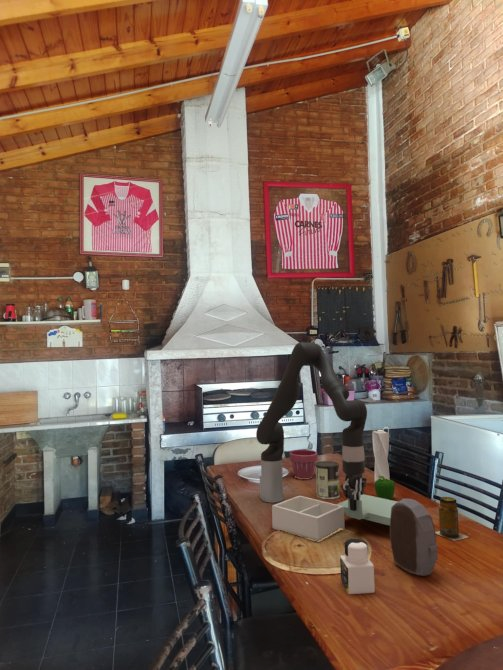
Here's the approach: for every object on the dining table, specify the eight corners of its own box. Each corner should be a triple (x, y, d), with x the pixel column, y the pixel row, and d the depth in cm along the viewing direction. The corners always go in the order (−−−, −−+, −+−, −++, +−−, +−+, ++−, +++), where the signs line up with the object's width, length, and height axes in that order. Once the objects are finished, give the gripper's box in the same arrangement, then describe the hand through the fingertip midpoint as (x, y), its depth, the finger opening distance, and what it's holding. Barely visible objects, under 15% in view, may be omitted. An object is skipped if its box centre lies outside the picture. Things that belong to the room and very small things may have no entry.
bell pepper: (393, 496, 201) (392, 472, 201) (397, 502, 193) (396, 477, 193) (373, 496, 202) (372, 472, 202) (376, 501, 193) (375, 477, 194)
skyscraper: (393, 486, 215) (391, 426, 216) (389, 490, 209) (386, 428, 210) (376, 484, 219) (374, 425, 221) (371, 488, 213) (369, 427, 214)
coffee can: (339, 492, 207) (339, 461, 208) (339, 499, 197) (338, 466, 198) (316, 492, 209) (316, 460, 210) (315, 498, 199) (314, 465, 200)
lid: (327, 515, 165) (326, 494, 165) (361, 500, 181) (360, 480, 182) (383, 530, 149) (383, 507, 150) (415, 512, 166) (414, 491, 167)
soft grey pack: (386, 561, 137) (384, 493, 138) (408, 556, 140) (406, 489, 141) (423, 584, 123) (421, 508, 124) (447, 577, 127) (444, 503, 128)
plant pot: (319, 481, 227) (319, 454, 228) (291, 481, 228) (290, 455, 228) (316, 473, 242) (315, 449, 242) (289, 474, 242) (288, 449, 242)
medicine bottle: (340, 581, 126) (339, 536, 126) (366, 580, 126) (364, 535, 127) (348, 595, 118) (346, 547, 119) (375, 593, 119) (373, 546, 120)
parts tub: (272, 528, 166) (272, 505, 166) (299, 516, 177) (299, 495, 178) (318, 542, 152) (317, 518, 152) (344, 529, 163) (343, 506, 164)
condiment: (448, 529, 162) (447, 494, 162) (469, 537, 154) (467, 501, 155) (433, 533, 158) (432, 497, 159) (453, 541, 151) (452, 504, 151)
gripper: (354, 453, 166) (355, 502, 165) (332, 460, 156) (334, 512, 156) (373, 456, 161) (374, 507, 160) (352, 463, 151) (353, 517, 150)
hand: (354, 509), depth 158 cm, fingers closed on lid, 1 cm apart
